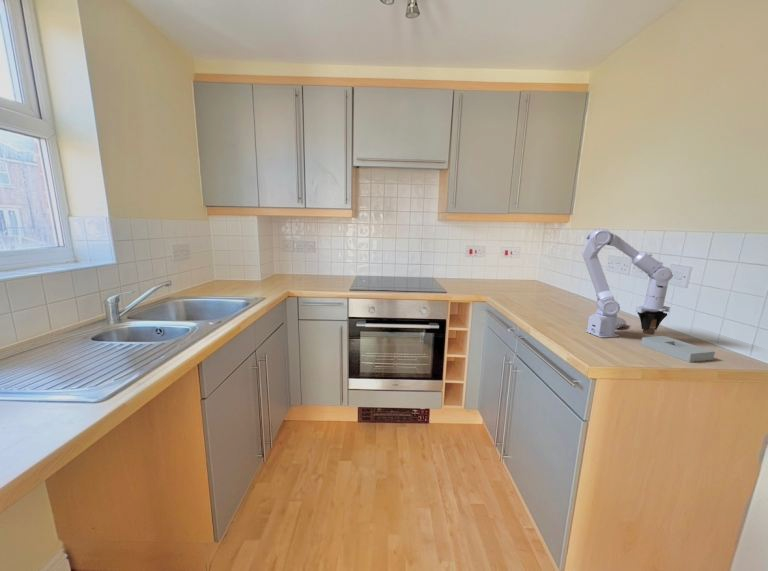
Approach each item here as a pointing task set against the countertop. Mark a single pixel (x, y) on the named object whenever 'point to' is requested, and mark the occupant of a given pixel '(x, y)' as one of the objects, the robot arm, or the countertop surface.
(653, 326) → the walnut peg
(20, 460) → the countertop surface
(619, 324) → the stone block
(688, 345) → the grey board
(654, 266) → the robot arm
